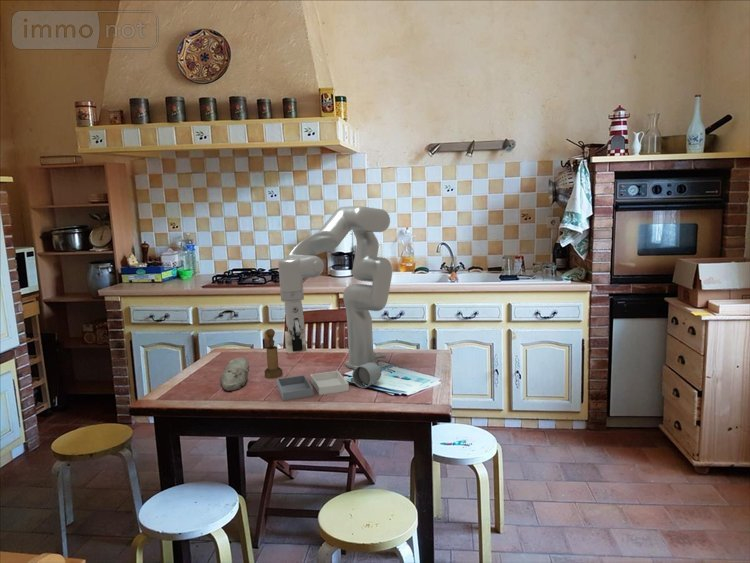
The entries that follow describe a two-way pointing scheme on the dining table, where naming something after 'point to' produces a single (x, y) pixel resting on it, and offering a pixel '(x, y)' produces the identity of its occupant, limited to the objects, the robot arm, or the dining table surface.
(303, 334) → the letter cube
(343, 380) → the tray
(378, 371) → the ceramic mug
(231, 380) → the long grey stone
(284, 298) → the robot arm
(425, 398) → the dining table surface
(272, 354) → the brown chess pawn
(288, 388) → the tray
